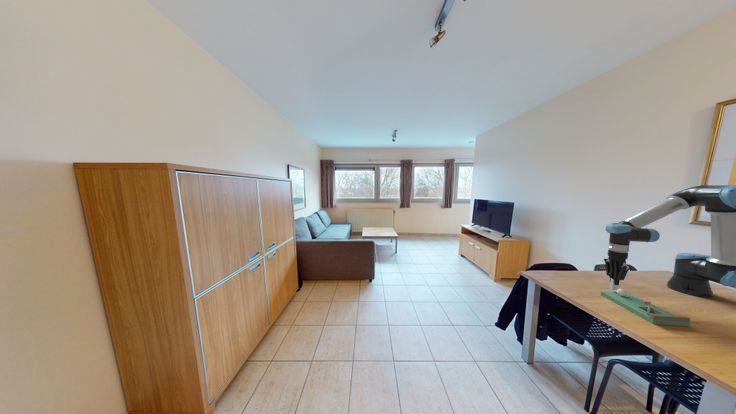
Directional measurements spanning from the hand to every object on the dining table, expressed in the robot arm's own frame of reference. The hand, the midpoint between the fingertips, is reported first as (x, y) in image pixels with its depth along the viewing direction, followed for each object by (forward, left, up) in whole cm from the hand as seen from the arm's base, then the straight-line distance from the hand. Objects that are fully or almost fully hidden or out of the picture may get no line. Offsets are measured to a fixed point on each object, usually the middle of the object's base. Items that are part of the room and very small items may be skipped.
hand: (613, 289), depth 122 cm
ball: (0, +5, +1) cm, 5 cm away
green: (0, +14, -3) cm, 14 cm away
